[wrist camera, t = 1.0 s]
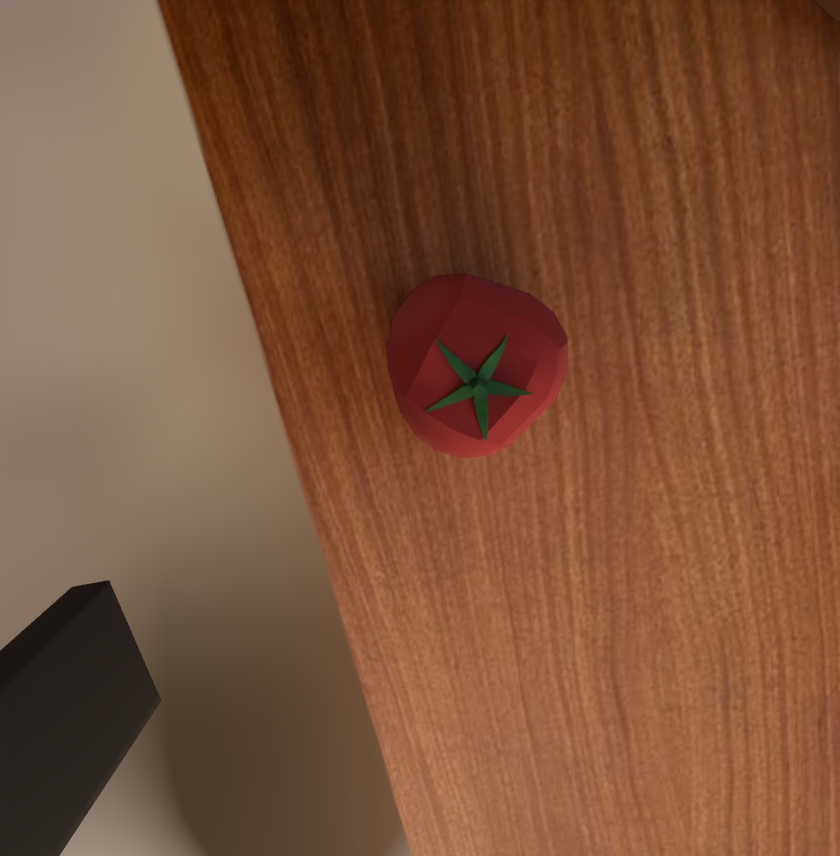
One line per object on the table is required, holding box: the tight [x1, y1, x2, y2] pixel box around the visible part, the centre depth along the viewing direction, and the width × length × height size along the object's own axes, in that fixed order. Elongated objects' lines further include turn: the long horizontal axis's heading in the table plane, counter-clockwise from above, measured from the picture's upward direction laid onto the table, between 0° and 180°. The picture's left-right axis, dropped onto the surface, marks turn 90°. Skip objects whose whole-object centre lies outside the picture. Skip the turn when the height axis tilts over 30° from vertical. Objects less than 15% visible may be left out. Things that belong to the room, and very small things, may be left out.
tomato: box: [386, 273, 567, 458], centre depth 26 cm, size 8×8×7 cm
